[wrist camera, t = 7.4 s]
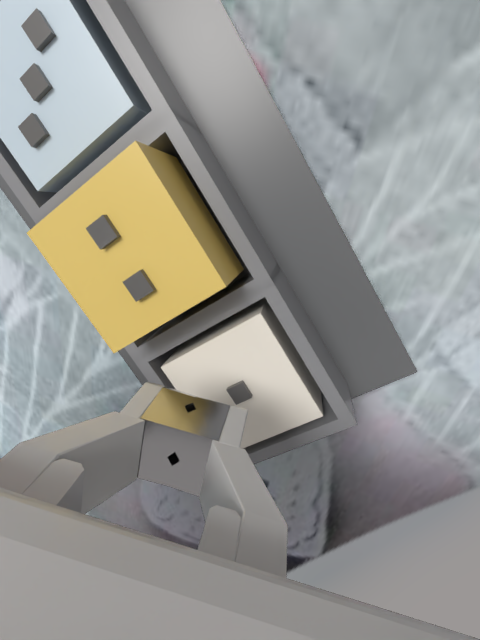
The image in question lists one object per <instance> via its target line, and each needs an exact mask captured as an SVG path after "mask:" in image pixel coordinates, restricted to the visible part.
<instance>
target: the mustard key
mask: <svg viewBox="0 0 480 640" xmlns="http://www.w3.org/2000/svg"><path fill="white" fill-rule="evenodd" d="M27 234H28V235H29V237H30V238H31V239H32V241H33V242H34V244H35V245H36V246H37V248H38V249H39V251H40V252H41V253H42V255H43V256H44V257H45V259H46V260H47V262H48V263H49V264H50V266H51V267H52V269H53V270H54V271H55V273H56V274H57V275H58V277H59V278H60V280H61V281H62V282H63V284H64V285H65V287H66V288H67V289H68V291H69V292H70V293H71V295H72V296H73V298H74V299H75V300H76V302H77V303H78V305H79V306H80V307H81V309H82V310H83V311H84V313H85V314H86V316H87V317H88V318H89V320H90V321H91V322H92V324H93V325H94V327H95V328H96V329H97V331H98V332H99V334H100V335H101V336H102V338H103V339H104V340H105V342H106V343H107V345H108V346H109V347H110V349H111V350H112V352H113V353H116V352H117V351H119V350H121V349H122V348H124V347H126V346H127V345H129V344H131V343H132V342H134V341H136V340H137V339H139V338H141V337H142V336H144V335H146V334H148V333H149V332H151V331H153V330H154V329H156V328H158V327H159V326H161V325H163V324H164V323H166V322H168V321H169V320H171V319H173V318H174V317H176V316H178V315H179V314H181V313H183V312H185V311H186V310H188V309H190V308H191V307H193V306H195V305H196V304H198V303H200V302H201V301H203V300H205V299H206V298H208V297H210V296H211V295H213V294H215V293H217V292H218V291H220V290H222V289H223V288H225V287H227V286H228V285H229V284H230V283H231V282H232V281H233V280H234V279H235V278H236V277H237V276H238V275H239V274H240V273H241V272H242V271H243V270H244V268H243V267H242V265H241V263H240V262H239V260H238V258H237V257H236V255H235V253H234V252H233V250H232V248H231V247H230V245H229V244H228V242H227V240H226V239H225V237H224V235H223V234H222V232H221V230H220V229H219V227H218V225H217V224H216V222H215V220H214V219H213V217H212V215H211V214H210V212H209V210H208V209H207V207H206V205H205V204H204V202H203V201H202V199H201V197H200V196H199V194H198V192H197V191H196V189H195V187H194V186H193V184H192V182H191V181H190V179H189V177H188V176H187V174H186V172H185V171H184V169H183V167H182V166H181V164H180V162H179V161H178V159H177V158H176V157H175V156H172V155H170V154H167V153H165V152H162V151H160V150H157V149H155V148H153V147H150V146H148V145H145V144H143V143H140V142H138V141H134V142H133V143H132V144H131V145H130V146H128V147H127V148H126V149H125V150H124V151H122V152H121V153H120V154H119V155H118V156H117V157H115V158H114V159H113V160H112V161H111V162H110V163H108V164H107V165H106V166H105V167H104V168H102V169H101V170H100V171H99V172H98V173H97V174H95V175H94V176H93V177H92V178H91V179H89V180H88V181H87V182H86V183H85V184H84V185H82V186H81V187H80V188H79V189H78V190H77V191H75V192H74V193H73V194H72V195H71V196H69V197H68V198H67V199H66V200H65V201H64V202H62V203H61V204H60V205H59V206H58V207H56V208H55V209H54V210H53V211H52V212H51V213H49V214H48V215H47V216H46V217H45V218H44V219H42V220H41V221H40V222H39V223H38V224H36V225H35V226H34V227H33V228H32V229H31V230H29V231H28V232H27Z"/></svg>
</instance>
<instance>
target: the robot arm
mask: <svg viewBox="0 0 480 640" xmlns="http://www.w3.org/2000/svg"><path fill="white" fill-rule="evenodd" d="M247 415H248V409H245V408H241V407H236V406H232V405H231V406H230V405H227V404H223V403H220V402H216V401H212V400H208V399H204V398H201V397H197V396H195V395H192V394H189V393H185V392H182V391H179V390H175V389H172V388H169V387H166V386H165V387H164V386H162V385H159V384H155V383H152V382H146V383H144V385H143V386H142V387H141V388H140V389H139V390H138V392H137V393H136V394H135V395H134V396H133V397H132V399H131V400H130V401H129V402H128V403H127V404H126V406H125V407H124V408H123V409H122V410H121V411H120V413H118V412H115V411H114V412H111V413H108V414H105V415H102V416H99V417H96V418H93V419H90V420H87V421H84V422H81V423H78V424H75V425H72V426H69V427H66V428H63V429H60V430H57V431H54V432H51V433H48V434H45V435H42V436H39V437H36V438H33V439H30V440H27V441H24V442H21V443H19V444H18V445H17V446H15V447H14V448H13V449H12V450H11V451H10V452H8V453H7V454H6V455H5V456H4V457H3V458H1V459H0V640H480V639H477V638H474V637H471V636H468V635H465V634H462V633H458V632H455V631H452V630H449V629H446V628H442V627H439V626H436V625H433V624H430V623H427V622H424V621H420V620H417V619H414V618H411V617H408V616H404V615H402V614H398V613H395V612H392V611H389V610H386V609H382V608H379V607H376V606H373V605H370V604H366V603H364V602H360V601H357V600H354V599H351V598H347V597H344V596H341V595H338V594H335V593H332V592H329V591H325V590H322V589H319V588H316V587H312V586H309V585H306V584H303V583H300V582H297V581H293V580H290V579H287V578H286V572H287V528H288V525H287V523H286V522H285V520H284V518H283V516H282V514H281V513H280V511H279V509H278V507H277V505H276V504H275V502H274V500H273V498H272V496H271V495H270V493H269V491H268V489H267V487H266V486H265V484H264V482H263V480H262V479H261V477H260V475H259V473H258V471H257V470H256V468H255V466H254V464H253V462H252V461H251V459H250V457H249V455H248V453H247V452H246V450H245V449H242V448H240V446H241V441H242V437H243V432H244V428H245V424H246V419H247ZM137 478H140V479H144V480H147V481H151V482H155V483H158V484H162V485H166V486H169V487H172V488H175V489H178V490H181V491H184V492H187V493H190V494H193V495H196V496H199V500H200V504H201V508H202V512H203V516H204V520H205V526H204V530H203V533H202V536H201V540H200V543H199V546H198V550H196V549H193V548H190V547H187V546H184V545H180V544H177V543H174V542H171V541H168V540H165V539H161V538H158V537H155V536H152V535H149V534H146V533H142V532H139V531H136V530H133V529H130V528H127V527H123V526H120V525H117V524H114V523H111V522H108V521H104V520H101V519H98V518H95V517H92V516H89V515H85V514H86V513H87V512H89V511H90V510H92V509H93V508H95V507H96V506H98V505H99V504H101V503H102V502H104V501H105V500H107V499H108V498H110V497H111V496H113V495H114V494H116V493H117V492H119V491H120V490H122V489H123V488H125V487H126V486H128V485H129V484H131V483H132V482H134V481H135V480H137Z"/></svg>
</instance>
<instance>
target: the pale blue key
mask: <svg viewBox="0 0 480 640" xmlns="http://www.w3.org/2000/svg"><path fill="white" fill-rule="evenodd" d="M150 111H152V109H151V107H150V106H149V104H148V102H147V101H146V99H145V97H144V96H143V94H142V92H141V91H140V89H139V87H138V86H137V84H136V82H135V81H134V79H133V77H132V76H131V74H130V72H129V71H128V69H127V67H126V66H125V64H124V62H123V61H122V59H121V57H120V56H119V54H118V52H117V51H116V49H115V47H114V46H113V44H112V42H111V41H110V39H109V37H108V36H107V34H106V32H105V31H104V29H103V27H102V26H101V24H100V22H99V21H98V19H97V18H96V16H95V14H94V13H93V11H92V9H91V8H90V6H89V4H88V3H87V1H86V0H1V1H0V138H1V139H2V141H3V142H4V144H5V145H6V147H7V148H8V149H9V151H10V152H11V154H12V155H13V157H14V158H15V159H16V161H17V162H18V164H19V165H20V167H21V168H22V170H23V171H24V172H25V174H26V175H27V177H28V178H29V180H30V181H31V182H32V184H33V185H34V187H35V188H36V190H37V191H42V192H58V191H60V190H61V189H62V188H63V187H64V186H65V185H66V184H68V183H69V182H70V181H71V180H72V179H73V178H75V177H76V176H77V175H78V174H79V173H80V172H81V171H83V170H84V169H85V168H86V167H87V166H88V165H90V164H91V163H92V162H93V161H94V160H95V159H96V158H98V157H99V156H100V155H101V154H102V153H103V152H104V151H106V150H107V149H108V148H109V147H110V146H111V145H113V144H114V143H115V142H116V141H117V140H118V139H119V138H121V137H122V136H123V135H124V134H125V133H126V132H127V131H129V130H130V129H131V128H132V127H133V126H134V125H136V124H137V123H138V122H139V121H140V120H141V119H142V118H144V117H145V116H146V115H147V114H148V113H149V112H150Z"/></svg>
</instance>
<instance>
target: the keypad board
mask: <svg viewBox="0 0 480 640" xmlns="http://www.w3.org/2000/svg"><path fill="white" fill-rule="evenodd" d="M0 1H1V0H0ZM86 1H87V3H88V4H89V6H90V8H91V9H92V11H93V13H94V14H95V16H96V18H97V19H98V21H99V22H100V24H101V26H102V27H103V29H104V31H105V32H106V34H107V36H108V37H109V39H110V41H111V42H112V44H113V46H114V47H115V49H116V51H117V52H118V54H119V56H120V57H121V59H122V61H123V62H124V64H125V66H126V67H127V69H128V71H129V72H130V74H131V76H132V77H133V79H134V81H135V82H136V84H137V86H138V87H139V89H140V91H141V92H142V94H143V96H144V97H145V99H146V101H147V102H148V104H149V106H150V107H151V109H152V111H150V112H149V113H148V114H147V115H146V116H145V117H144V118H142V119H141V120H140V121H139V122H138V123H137V124H136V125H134V126H133V127H132V128H131V129H130V130H129V131H127V132H126V133H125V134H124V135H123V136H122V137H121V138H119V139H118V140H117V141H116V142H115V143H114V144H113V145H111V146H110V147H109V148H108V149H107V150H106V151H104V152H103V153H102V154H101V155H100V156H99V157H98V158H96V159H95V160H94V161H93V162H92V163H91V164H90V165H88V166H87V167H86V168H85V169H84V170H83V171H81V172H80V173H79V174H78V175H77V176H76V177H75V178H73V179H72V180H71V181H70V182H69V183H68V184H66V185H65V186H64V187H63V188H62V189H61V190H60V191H58V192H42V191H37V190H36V188H35V187H34V185H33V184H32V182H31V181H30V180H29V178H28V177H27V175H26V174H25V172H24V171H23V170H22V168H21V167H20V165H19V164H18V162H17V161H16V159H15V158H14V157H13V155H12V154H11V152H10V151H9V149H8V148H7V147H6V145H5V144H4V142H3V141H2V139H1V138H0V188H1V189H2V191H3V192H4V193H5V195H6V196H7V198H8V199H9V200H10V202H11V203H12V204H13V206H14V207H15V209H16V210H17V211H18V213H19V214H20V216H21V217H22V218H23V220H24V221H25V223H26V224H27V225H28V227H29V228H30V230H31V229H32V228H33V227H34V226H35V225H36V224H38V223H39V222H40V221H41V220H42V219H44V218H45V217H46V216H47V215H48V214H49V213H51V212H52V211H53V210H54V209H55V208H56V207H58V206H59V205H60V204H61V203H62V202H64V201H65V200H66V199H67V198H68V197H69V196H71V195H72V194H73V193H74V192H75V191H77V190H78V189H79V188H80V187H81V186H82V185H84V184H85V183H86V182H87V181H88V180H89V179H91V178H92V177H93V176H94V175H95V174H97V173H98V172H99V171H100V170H101V169H102V168H104V167H105V166H106V165H107V164H108V163H110V162H111V161H112V160H113V159H114V158H115V157H117V156H118V155H119V154H120V153H121V152H122V151H124V150H125V149H126V148H127V147H128V146H130V145H131V144H132V143H133V142H134V141H138V142H140V143H143V144H145V145H148V146H150V147H153V148H155V149H157V150H160V151H162V152H165V153H167V154H170V155H172V156H175V157H176V158H177V159H178V161H179V162H180V164H181V166H182V167H183V169H184V171H185V172H186V174H187V176H188V177H189V179H190V181H191V182H192V184H193V186H194V187H195V189H196V191H197V192H198V194H199V196H200V197H201V199H202V201H203V202H204V204H205V205H206V207H207V209H208V210H209V212H210V214H211V215H212V217H213V219H214V220H215V222H216V224H217V225H218V227H219V229H220V230H221V232H222V234H223V235H224V237H225V239H226V240H227V242H228V244H229V245H230V247H231V248H232V250H233V252H234V253H235V255H236V257H237V258H238V260H239V262H240V263H241V265H242V267H243V268H244V270H243V271H242V272H241V273H240V274H239V275H238V276H237V277H236V278H235V279H234V280H233V281H232V282H231V283H230V284H229V285H228V286H227V287H225V288H223V289H222V290H220V291H218V292H217V293H215V294H213V295H211V296H210V297H208V298H206V299H205V300H203V301H201V302H200V303H198V304H196V305H195V306H193V307H191V308H190V309H188V310H186V311H185V312H183V313H181V314H179V315H178V316H176V317H174V318H173V319H171V320H169V321H168V322H166V323H164V324H163V325H161V326H159V327H158V328H156V329H154V330H153V331H151V332H149V333H148V334H146V335H144V336H142V337H141V338H139V339H137V340H136V341H134V342H132V343H131V344H129V345H127V346H126V347H124V348H122V349H121V350H119V351H118V352H119V353H120V355H121V356H122V357H123V359H124V360H125V362H126V363H127V364H128V366H129V367H130V369H131V370H132V371H133V373H134V374H135V376H136V377H137V378H138V380H139V381H140V382H141V384H142V385H144V383H146V382H152V383H155V384H159V385H162V386H164V387H165V386H166V387H169V388H172V389H175V387H174V386H173V384H172V383H171V382H170V380H169V379H168V377H167V376H166V374H165V373H164V372H163V370H162V369H161V366H162V365H163V364H164V363H165V362H166V361H167V360H168V359H169V358H170V356H171V355H172V354H173V353H174V352H175V351H176V350H177V349H178V348H179V346H180V345H181V344H182V343H183V342H185V341H187V340H189V339H190V338H192V337H194V336H196V335H198V334H199V333H201V332H203V331H205V330H207V329H208V328H210V327H212V326H214V325H216V324H217V323H219V322H221V321H223V320H224V319H226V318H228V317H230V316H232V315H233V314H235V313H237V312H239V311H241V310H242V309H244V308H246V307H248V306H250V305H251V304H253V303H255V302H257V301H259V300H260V299H262V298H264V297H265V298H266V300H267V302H268V303H269V305H270V306H271V308H272V310H273V311H274V313H275V315H276V316H277V318H278V320H279V321H280V323H281V325H282V326H283V328H284V330H285V331H286V333H287V335H288V336H289V338H290V340H291V341H292V343H293V345H294V346H295V348H296V350H297V351H298V353H299V355H300V356H301V358H302V360H303V361H304V363H305V365H306V366H307V368H308V370H309V371H310V373H311V375H312V376H313V378H314V380H315V381H316V383H317V385H318V386H319V388H320V390H321V397H322V407H323V416H322V417H320V418H317V419H315V420H313V421H310V422H308V423H305V424H303V425H300V426H298V427H295V428H293V429H290V430H288V431H285V432H283V433H280V434H278V435H275V436H273V437H270V438H268V439H265V440H263V441H260V442H258V443H255V444H253V445H250V446H248V447H245V448H243V449H245V450H246V452H247V453H248V455H249V457H250V459H251V461H252V462H253V464H256V463H258V462H261V461H264V460H266V459H269V458H272V457H274V456H277V455H279V454H282V453H285V452H287V451H290V450H293V449H295V448H298V447H301V446H303V445H306V444H308V443H311V442H314V441H316V440H319V439H322V438H324V437H327V436H330V435H332V434H335V433H337V432H340V431H343V430H345V429H348V428H351V427H353V426H356V425H357V421H356V417H355V413H354V409H353V405H352V401H351V399H352V398H355V397H357V396H360V395H362V394H364V393H367V392H369V391H372V390H374V389H377V388H379V387H382V386H384V385H387V384H389V383H391V382H394V381H396V380H399V379H401V378H404V377H406V376H409V375H411V374H414V373H416V372H417V370H416V368H415V366H414V364H413V362H412V361H411V359H410V357H409V355H408V353H407V351H406V349H405V347H404V346H403V344H402V342H401V340H400V338H399V336H398V334H397V332H396V330H395V329H394V327H393V325H392V323H391V321H390V319H389V317H388V315H387V313H386V312H385V310H384V308H383V306H382V304H381V302H380V300H379V298H378V297H377V295H376V293H375V291H374V289H373V287H372V285H371V283H370V281H369V280H368V278H367V276H366V274H365V272H364V270H363V268H362V266H361V265H360V263H359V261H358V259H357V257H356V255H355V253H354V251H353V249H352V248H351V246H350V244H349V242H348V240H347V238H346V236H345V234H344V233H343V231H342V229H341V227H340V225H339V223H338V221H337V219H336V217H335V216H334V214H333V212H332V210H331V208H330V206H329V204H328V202H327V200H326V199H325V197H324V195H323V193H322V191H321V189H320V187H319V185H318V184H317V182H316V180H315V178H314V176H313V174H312V172H311V170H310V168H309V167H308V165H307V163H306V161H305V159H304V157H303V155H302V153H301V152H300V150H299V148H298V146H297V144H296V142H295V140H294V138H293V136H292V135H291V133H290V131H289V129H288V127H287V125H286V123H285V121H284V120H283V118H282V116H281V114H280V112H279V110H278V108H277V106H276V104H275V103H274V101H273V99H272V97H271V95H270V93H269V91H268V89H267V87H266V86H265V84H264V82H263V80H262V78H261V76H260V74H259V72H258V71H257V69H256V67H255V65H254V63H253V61H252V59H251V57H250V55H249V54H248V52H247V50H246V48H245V46H244V44H243V42H242V40H241V39H240V37H239V35H238V33H237V31H236V29H235V27H234V25H233V23H232V22H231V20H230V18H229V16H228V14H227V12H226V10H225V8H224V7H223V5H222V3H221V1H220V0H86ZM175 390H176V389H175Z"/></svg>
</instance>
